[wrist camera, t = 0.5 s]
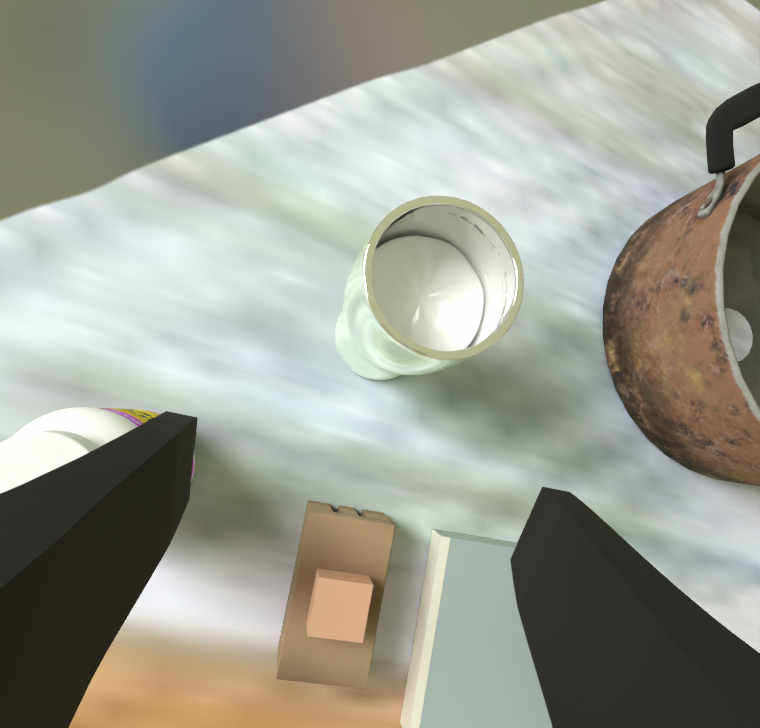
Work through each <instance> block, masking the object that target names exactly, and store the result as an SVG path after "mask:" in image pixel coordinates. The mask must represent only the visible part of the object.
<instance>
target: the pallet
mask: <svg viewBox="0 0 760 728" xmlns="http://www.w3.org/2000/svg"><path fill="white" fill-rule="evenodd" d="M394 529H395V525H394V524H393V523H392V522H391V521H390V520H389V519H388V517H387V516H386V515H385V514H384V513H381V512H375V511H369V510H363V509H362V515H361V516H359V515H358V514H357V512H356V511H355V509H354V508H351V507H345V506H338V511H337V512H333V511H332V509H331V506H330V504H327V503H321V502H314V501H308V503H307V508H306V513H305V518H304V523H303V528H302V533H301V538H300V543H299V548H298V553H297V558H296V562H295V567H294V572H293V577H292V582H291V587H290V592H289V597H288V602H287V607H286V612H285V617H284V621H283V626H282V631H281V636H280V641H279V646H278V662H277V679H281V680H290V681H299V682H308V683H317V684H326V685H335V686H344V687H353V688H362V689H366V685H367V680H368V674H369V668H370V663H371V657H372V652H373V646H374V641H375V635H376V629H377V624H378V618H379V613H380V607H381V601H382V596H383V590H384V585H385V579H386V574H387V568H388V562H389V557H390V551H391V546H392V540H393V534H394ZM317 568H319V569H325V570H332V571H339V572H346V573H353V574H360V575H366V576H369V577H370V579H371V581H372V583H373V590H372V595H371V601H370V606H369V612H368V617H367V622H366V628H365V633H364V639H363V643H357V642H349V641H341V640H333V639H325V638H317V637H309V636H307V628H306V622H307V617H308V612H309V607H310V602H311V597H312V592H313V587H314V582H315V577H316V571H317Z"/></svg>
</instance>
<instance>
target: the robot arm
mask: <svg viewBox="0 0 760 728" xmlns="http://www.w3.org/2000/svg"><path fill="white" fill-rule="evenodd" d="M196 427H197V417H192V416H187V415H182V414H177V413H172V412H167V411H166V412H164V413H162V414H160V415H158V416H156V417H154V418H152V419H151V420H149V421H147V422H145V423H143V424H141V425H140V426H138V427H136V428H134V429H132V430H130V431H129V432H127V433H125V434H123V435H121V436H119V437H118V438H116V439H114V440H112V441H110V442H108V443H106V444H104V445H102V446H100V447H99V448H97V449H95V450H93V451H91V452H89V453H87V454H85V455H83V456H81V457H79V458H77V459H75V460H73V461H71V462H69V463H67V464H65V465H62V466H60V467H58V468H56V469H54V470H52V471H50V472H47V473H45V474H43V475H41V476H39V477H37V478H35V479H33V480H30V481H28V482H26V483H24V484H22V485H19V486H17V487H15V488H12V489H10V490H8V491H5V492H3V493H1V494H0V728H68V727H69V725H70V723H71V721H72V719H73V717H74V715H75V713H76V711H77V708H78V706H79V704H80V702H81V700H82V698H83V696H84V694H85V692H86V690H87V688H88V685H89V683H90V681H91V679H92V677H93V676H94V674H95V672H96V670H97V668H98V666H99V665H100V663H101V661H102V659H103V657H104V655H105V653H106V652H107V650H108V648H109V647H110V645H111V643H112V642H113V640H114V638H115V637H116V635H117V633H118V631H119V630H120V628H121V626H122V625H123V623H124V621H125V620H126V618H127V616H128V615H129V613H130V611H131V610H132V608H133V606H134V604H135V603H136V601H137V599H138V598H139V596H140V594H141V593H142V591H143V589H144V588H145V586H146V584H147V583H148V581H149V579H150V577H151V576H152V574H153V572H154V571H155V569H156V567H157V566H158V564H159V562H160V560H161V559H162V557H163V555H164V553H165V552H166V550H167V548H168V547H169V545H170V542H171V540H172V538H173V536H174V534H175V531H176V529H177V527H178V525H179V522H180V520H181V518H182V515H183V513H184V510H185V508H186V506H187V503H188V501H189V495H190V485H191V476H192V466H193V456H194V447H195V437H196ZM510 562H511V569H512V576H513V584H514V590H515V596H516V602H517V607H518V611H519V614H520V618H521V622H522V625H523V629H524V632H525V636H526V639H527V643H528V646H529V649H530V653H531V656H532V659H533V663H534V666H535V670H536V673H537V676H538V680H539V683H540V686H541V690H542V693H543V697H544V700H545V703H546V707H547V710H548V713H549V717H550V720H551V724H552V728H760V653H758V652H757V651H756V650H754V649H753V648H752V647H750V646H749V645H748V644H746V643H745V642H744V641H742V640H741V639H740V638H739V637H737V636H736V635H735V634H733V633H732V632H731V631H729V630H728V629H727V628H726V627H724V626H723V625H722V624H720V623H719V622H718V621H717V620H715V619H714V618H713V617H712V616H710V615H709V614H708V613H707V612H706V611H704V610H703V609H702V608H701V607H700V606H699V605H697V604H696V603H695V602H694V601H693V600H691V599H690V598H689V597H688V596H687V595H685V594H684V593H683V592H682V591H681V590H680V589H678V588H677V587H676V586H675V585H674V584H673V583H671V582H670V581H669V580H668V579H667V578H666V577H665V576H664V575H662V574H661V573H660V572H659V571H658V570H657V569H656V568H655V567H653V566H652V565H651V564H650V563H649V562H648V561H647V560H646V559H645V558H643V557H642V556H641V555H640V554H639V553H638V552H637V551H636V550H635V549H634V548H633V547H631V546H630V545H629V544H628V543H627V542H626V541H625V540H624V539H623V538H622V537H621V536H620V535H618V534H617V533H616V532H615V531H614V530H613V529H612V528H611V527H610V526H609V525H608V524H607V523H605V522H604V521H603V520H602V519H601V518H600V517H599V516H598V515H597V514H595V513H594V512H593V511H592V510H591V509H590V508H589V507H588V506H586V505H585V504H584V503H583V502H582V501H581V500H579V499H578V498H577V497H575V496H574V495H573V494H572V493H570V492H566V491H561V490H556V489H551V488H546V487H542V489H541V491H540V493H539V496H538V498H537V500H536V502H535V505H534V507H533V509H532V511H531V514H530V516H529V518H528V520H527V523H526V525H525V527H524V529H523V532H522V534H521V536H520V538H519V541H518V543H517V545H516V547H515V550H514V552H513V554H512V556H511V559H510Z"/></svg>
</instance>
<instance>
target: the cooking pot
mask: <svg viewBox="0 0 760 728" xmlns="http://www.w3.org/2000/svg"><path fill="white" fill-rule="evenodd" d="M759 117H760V83H758V84H756V85H753V86H751V87H749V88H747V89H746V90H744V91H742V92H740V93H738V94H736V95H735V96H733V97H731V98H729V99H727V100H726V101H725V102H723V103H722V104H721V105H720V106H719V107H717V108H716V109H715V111H714V112H713V114H712V115H711V116H710V118H709V120H708V123H707V125H706V148H707V162H708V172H709V173H710V174H714V173H716V179H715V180H713V181H711V182H709V183H707V184H706V185H704V186H702V187H700V188H698V189H696V190H695V191H693V192H691V193H689V194H687V195H686V196H684V197H682V198H680V199H678V200H677V201H675V202H673V203H672V204H670V205H669V206H667V207H666V208H664V209H663V210H661V211H660V212H658V213H657V214H655V215H654V216H652V217H651V218H649V219H648V220H647V221H646V222H645V223H644V224H643V225H642V226H641V227H640V228H639V229H638V230H637V231H636V232H635V233H634V234H633V235H632V236H631V237H630V239H629V240H628V242H627V243H626V245H625V246H624V248H623V250H622V251H621V253H620V254H619V256H618V257H617V260H616V262H615V265H614V267H613V270H612V272H611V275H610V278H609V280H608V284H607V289H606V295H605V300H604V305H603V339H604V346H605V352H606V358H607V364H608V367H609V370H610V373H611V376H612V379H613V382H614V385H615V388H616V390H617V392H618V394H619V396H620V398H621V400H622V402H623V404H624V406H625V407H626V409H627V411H628V413H629V415H630V416H631V417H632V419H633V420H634V421H635V423H636V424H637V425H638V427H639V428H640V429H641V430H642V432H643V433H644V434H645V436H646V437H647V438H648V439H649V440H651V441H652V442H653V443H654V444H655V445H656V446H657V447H658V448H659V449H660V450H661V451H663V452H664V453H665V454H666V455H667V456H669V457H670V458H672V459H674V460H675V461H677V462H678V463H680V464H682V465H683V466H685V467H686V468H688V469H690V470H693V471H695V472H698V473H701V474H703V475H706V476H708V477H711V478H715V479H720V480H725V481H731V482H737V483H743V484H750V485H756V486H760V155H758V156H756V157H754V158H752V159H751V160H749V161H747V162H745V163H743V164H742V165H740V166H738V167H736V168H734V166H735V159H734V150H733V130H735V129H737V128H740V127H742V126H744V125H746V124H748V123H749V122H751V121H753V120H755V119H757V118H759ZM732 168H734V169H733V170H731V171H729V172H727V173H725V171H727V170H730V169H732ZM725 308H731V309H734V310H737V311H738V312H740V313H741V314H742V315H743V316H745V318H746V319H747V321H748V322H749V324H750V326H751V329H752V333H753V344H752V348H751V350H750V352H749V354H748V355H747V356H746V357H745V358H744V359H743V360H742V361H739V362H737V359H736V356H735V353H734V350H733V347H732V344H731V341H730V336H729V330H728V325H727V319H726V313H725Z"/></svg>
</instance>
